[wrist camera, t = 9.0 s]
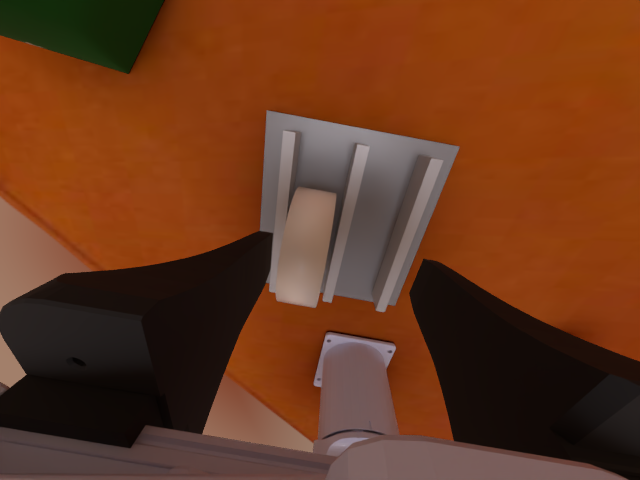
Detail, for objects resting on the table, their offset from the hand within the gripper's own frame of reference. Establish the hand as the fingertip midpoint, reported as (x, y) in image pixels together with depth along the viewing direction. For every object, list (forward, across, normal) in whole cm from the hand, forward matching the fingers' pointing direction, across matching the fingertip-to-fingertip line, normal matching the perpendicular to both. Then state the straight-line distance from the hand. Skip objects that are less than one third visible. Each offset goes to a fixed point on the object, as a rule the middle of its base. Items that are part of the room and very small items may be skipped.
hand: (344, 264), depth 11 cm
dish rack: (+9, 0, +2) cm, 10 cm away
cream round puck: (+9, +2, +2) cm, 9 cm away
